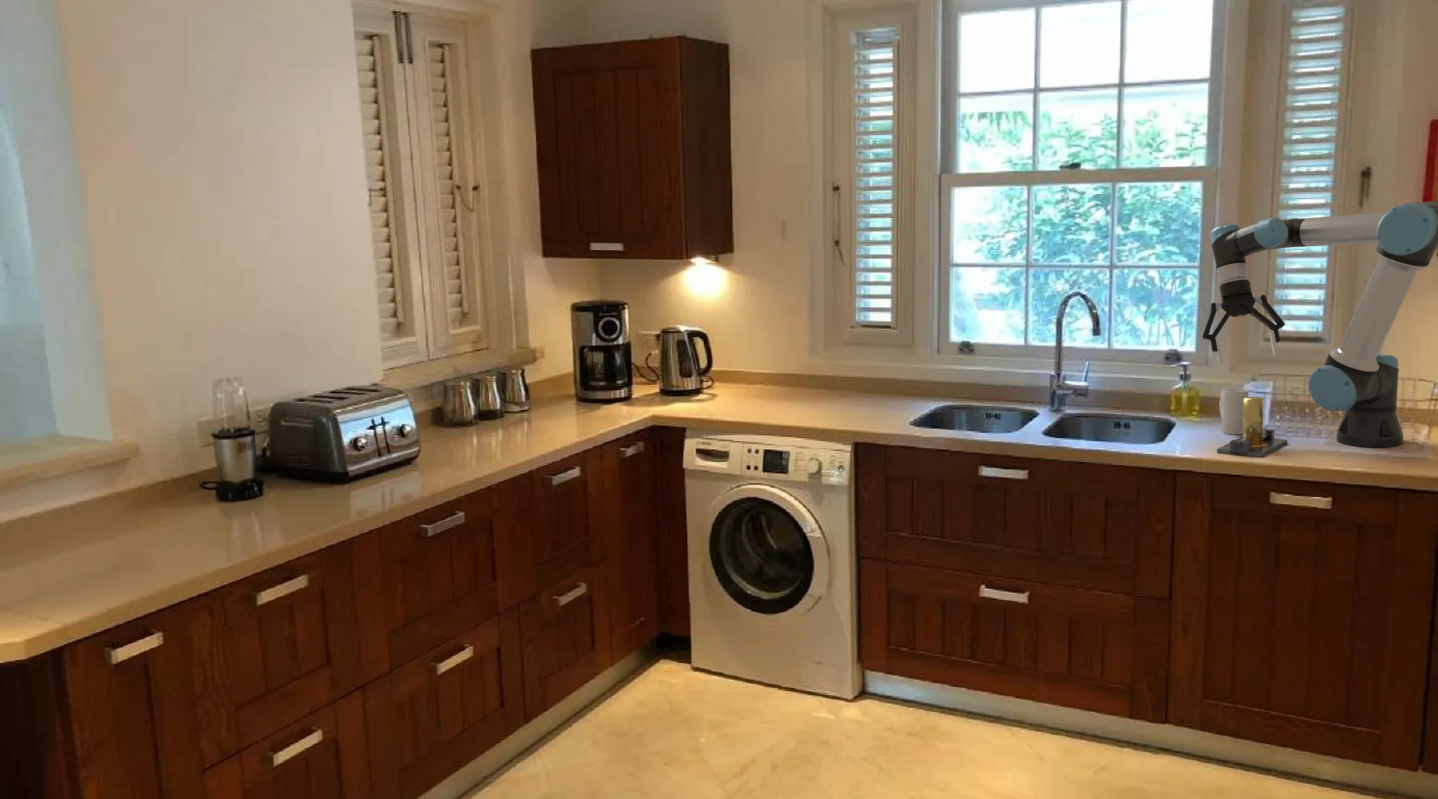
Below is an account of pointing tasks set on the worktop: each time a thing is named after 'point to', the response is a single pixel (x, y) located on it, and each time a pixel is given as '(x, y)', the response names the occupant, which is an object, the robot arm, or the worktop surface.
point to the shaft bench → (1245, 448)
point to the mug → (1232, 410)
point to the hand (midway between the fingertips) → (1248, 359)
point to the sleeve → (1253, 419)
